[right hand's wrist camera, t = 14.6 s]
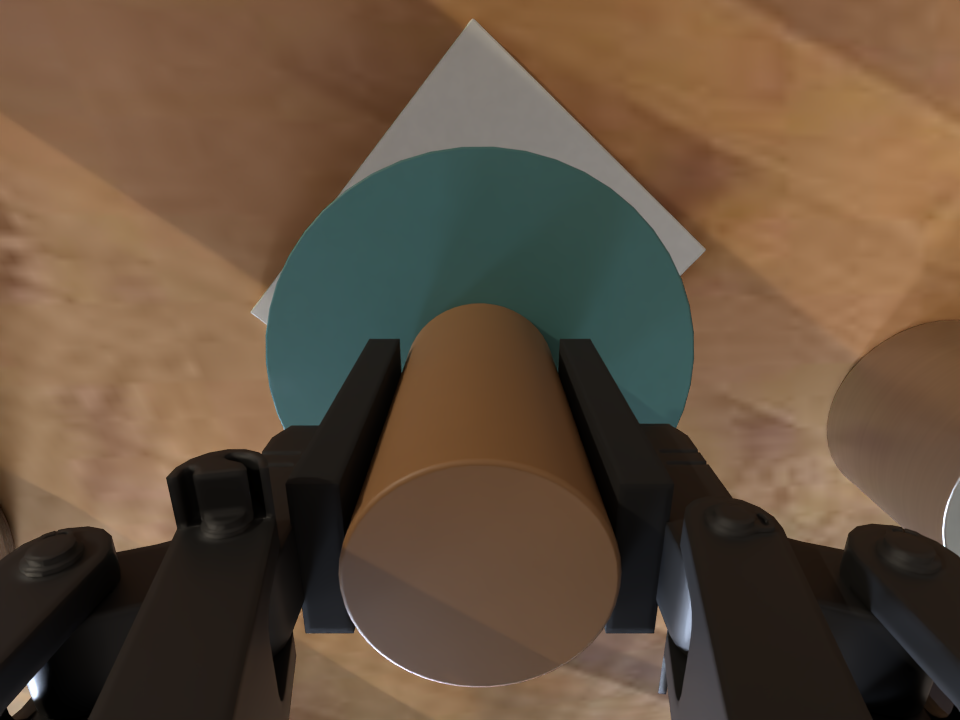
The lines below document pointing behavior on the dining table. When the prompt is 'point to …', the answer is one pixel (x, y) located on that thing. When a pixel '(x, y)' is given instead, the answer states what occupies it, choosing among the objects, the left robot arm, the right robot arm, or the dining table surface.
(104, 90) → the dining table surface
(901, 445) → the saucepan
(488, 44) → the grey mat
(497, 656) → the lid
